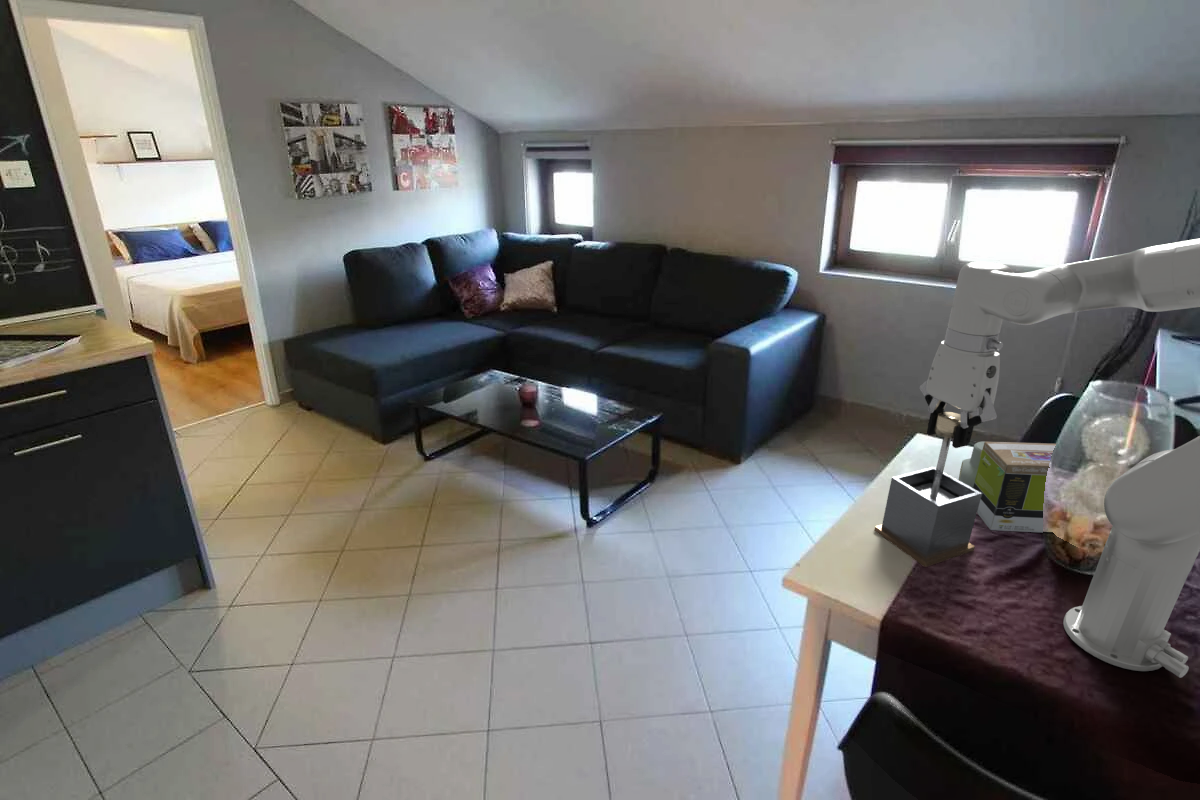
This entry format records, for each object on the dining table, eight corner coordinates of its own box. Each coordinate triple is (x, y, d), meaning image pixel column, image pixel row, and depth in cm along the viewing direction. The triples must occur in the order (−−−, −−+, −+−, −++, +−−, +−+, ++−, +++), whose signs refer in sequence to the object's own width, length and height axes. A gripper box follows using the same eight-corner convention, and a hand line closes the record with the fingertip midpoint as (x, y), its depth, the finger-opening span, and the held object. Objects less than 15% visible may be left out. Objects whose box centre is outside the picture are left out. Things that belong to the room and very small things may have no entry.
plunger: (967, 507, 117) (989, 422, 110) (934, 517, 114) (955, 430, 107) (930, 486, 123) (949, 404, 117) (898, 495, 120) (916, 412, 114)
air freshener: (1001, 506, 133) (1013, 463, 129) (956, 495, 136) (966, 453, 132) (1001, 482, 141) (1013, 441, 137) (958, 472, 145) (969, 432, 141)
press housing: (973, 550, 119) (989, 494, 114) (925, 567, 115) (939, 509, 110) (920, 516, 129) (933, 463, 124) (874, 530, 125) (885, 476, 120)
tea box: (1044, 507, 132) (1065, 442, 126) (1072, 536, 123) (1096, 468, 117) (967, 503, 134) (984, 438, 128) (988, 531, 125) (1008, 463, 119)
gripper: (1035, 352, 100) (1006, 457, 108) (944, 323, 115) (923, 417, 122) (1001, 359, 98) (974, 465, 105) (912, 328, 112) (893, 424, 119)
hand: (947, 438), depth 113 cm, fingers open, 4 cm apart
